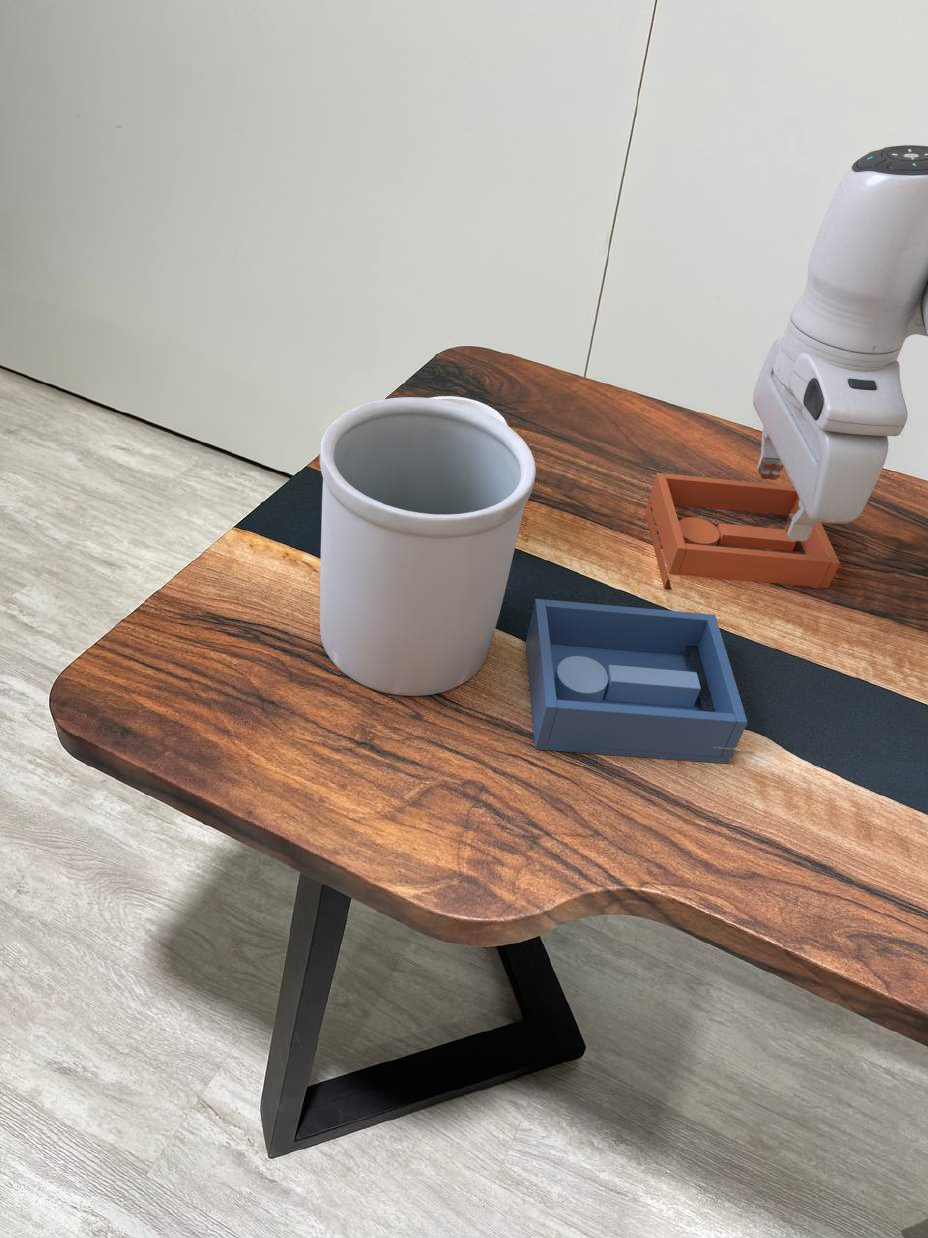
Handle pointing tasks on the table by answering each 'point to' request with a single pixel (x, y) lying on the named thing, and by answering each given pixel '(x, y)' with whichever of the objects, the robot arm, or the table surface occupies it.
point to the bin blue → (634, 644)
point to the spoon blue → (624, 683)
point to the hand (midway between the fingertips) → (780, 504)
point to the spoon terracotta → (733, 535)
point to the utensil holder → (417, 540)
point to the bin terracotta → (734, 561)
